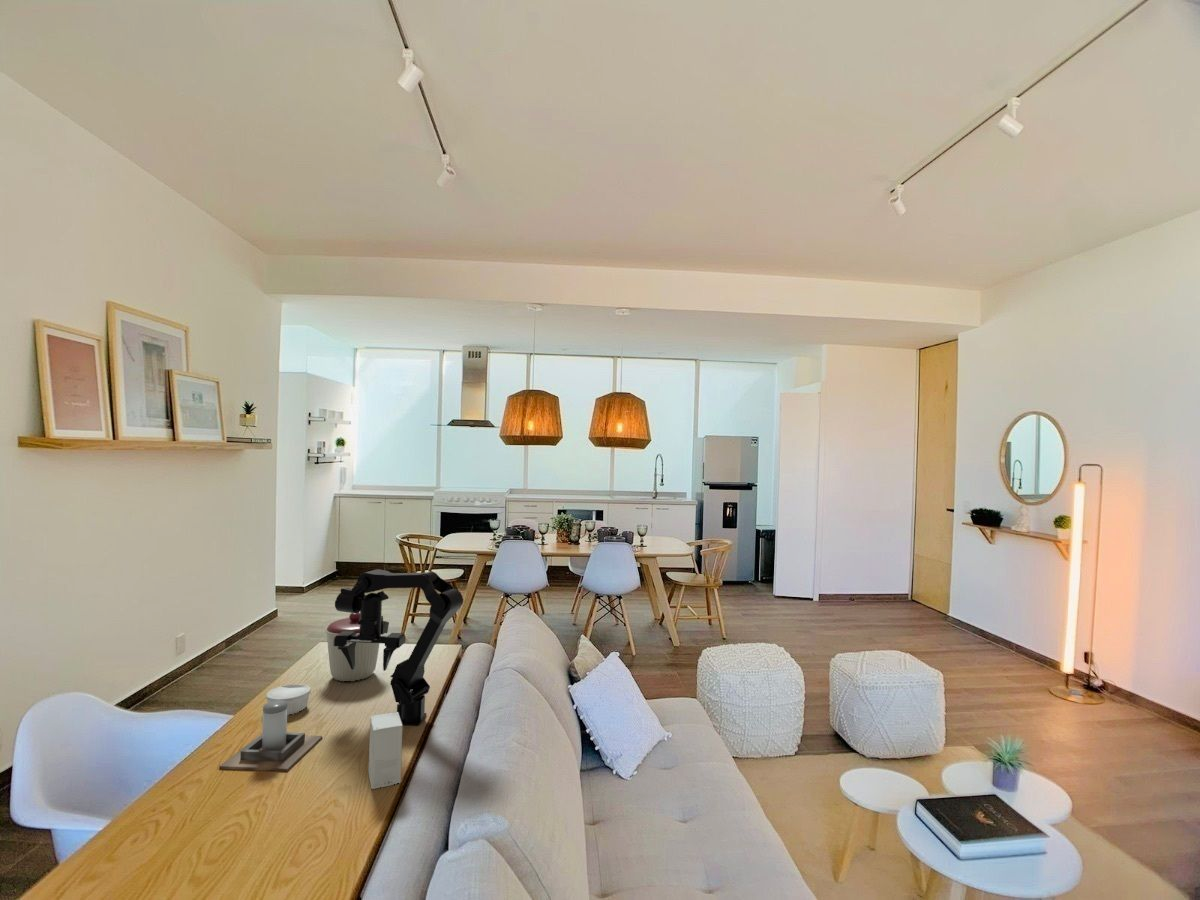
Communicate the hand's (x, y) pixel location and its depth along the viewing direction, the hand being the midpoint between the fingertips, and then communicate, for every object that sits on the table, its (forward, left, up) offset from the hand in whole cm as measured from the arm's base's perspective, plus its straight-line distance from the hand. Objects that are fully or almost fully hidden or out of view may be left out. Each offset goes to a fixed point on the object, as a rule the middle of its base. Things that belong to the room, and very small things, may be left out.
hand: (368, 669), depth 166 cm
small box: (-18, +33, -12) cm, 40 cm away
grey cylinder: (+13, +24, -11) cm, 29 cm away
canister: (+16, -26, -12) cm, 33 cm away
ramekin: (+23, 0, -12) cm, 26 cm away
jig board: (+13, +24, -12) cm, 30 cm away
